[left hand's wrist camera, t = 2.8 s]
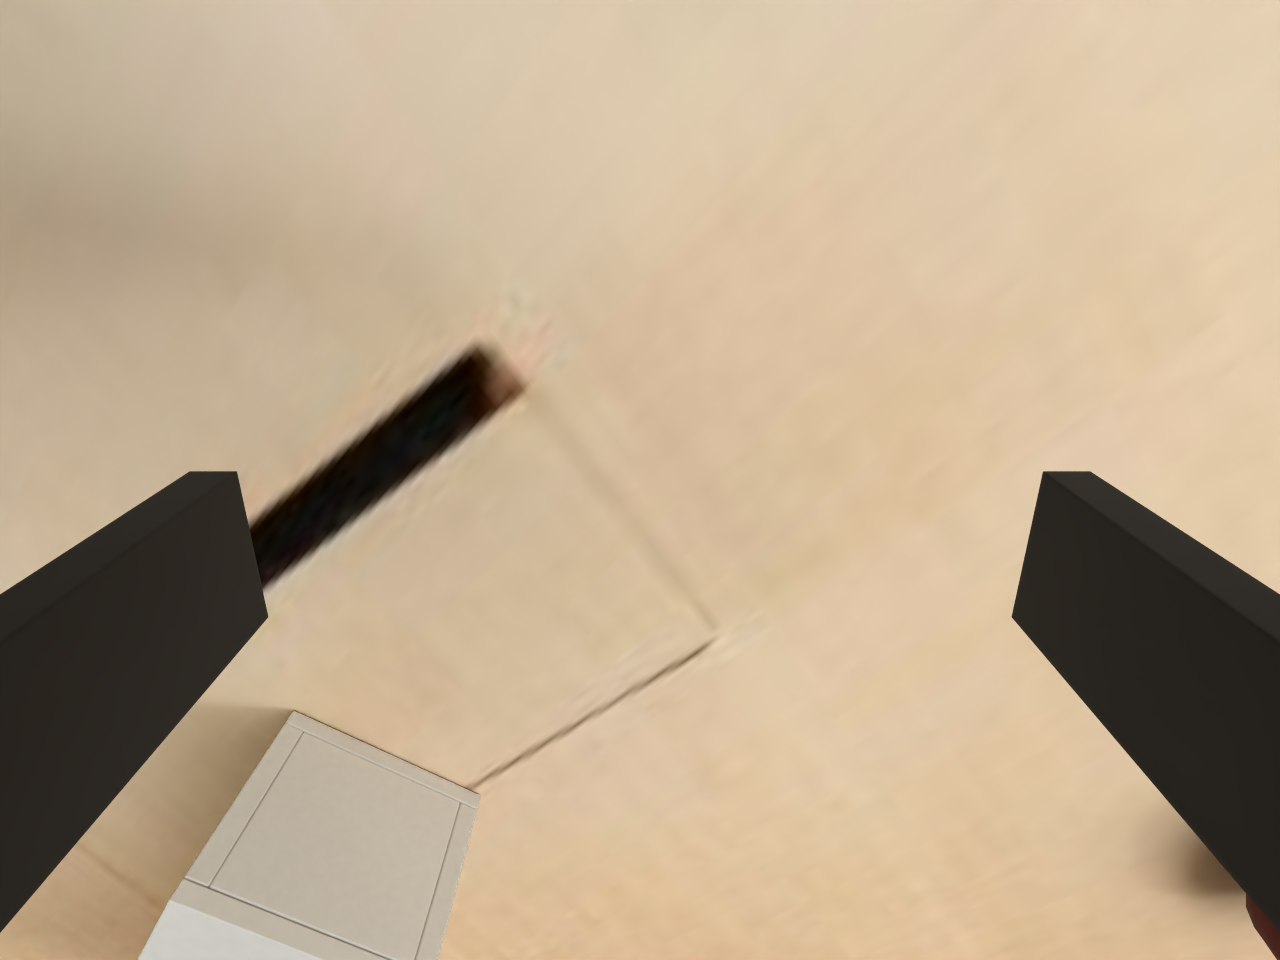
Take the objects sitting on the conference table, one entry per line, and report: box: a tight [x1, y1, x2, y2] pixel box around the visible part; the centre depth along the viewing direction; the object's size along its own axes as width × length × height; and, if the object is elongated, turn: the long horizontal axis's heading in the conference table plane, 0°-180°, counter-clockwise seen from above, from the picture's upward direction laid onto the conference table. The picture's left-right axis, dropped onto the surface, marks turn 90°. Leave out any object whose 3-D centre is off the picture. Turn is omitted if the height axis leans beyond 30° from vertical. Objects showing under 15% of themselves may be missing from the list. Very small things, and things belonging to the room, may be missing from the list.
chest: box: [183, 711, 480, 960], centre depth 33 cm, size 15×9×9 cm, turn 148°
